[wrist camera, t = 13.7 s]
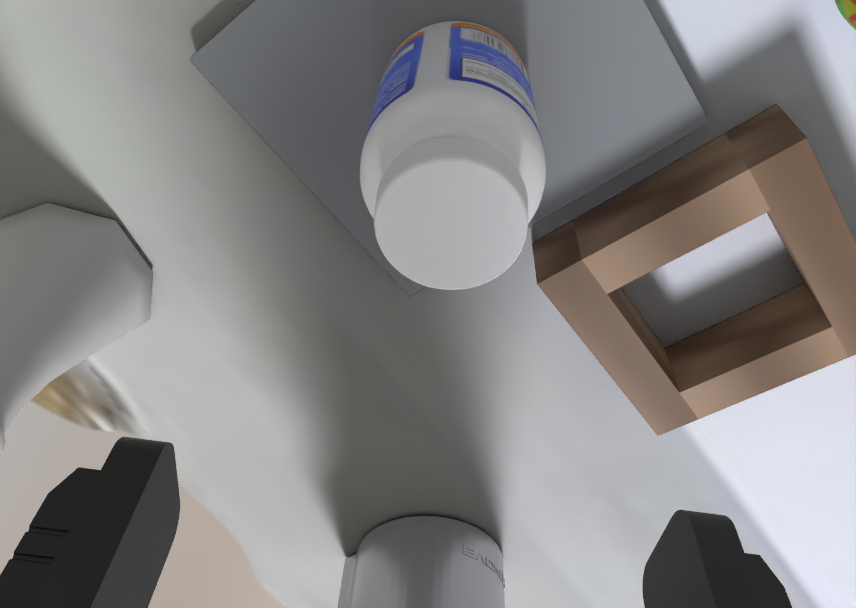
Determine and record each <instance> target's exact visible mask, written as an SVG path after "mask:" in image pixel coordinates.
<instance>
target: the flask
mask: <svg viewBox="0 0 856 608" xmlns="http://www.w3.org/2000/svg"><path fill="white" fill-rule="evenodd" d="M152 281H153V272H152V270H151V269H150V267H149V266H148V265H147V263H146V262H145V261H144V259H143V258H142V256H141V255H140V254H139V252H138V251H137V249H136V248H135V247H134V245H133V244H132V243H131V241H130V240H129V238H128V237H127V236H126V234H125V233H124V232H123V230H122V229H121V227H120V226H119V225H118V223H117V222H116V221H115V220H111V219H108V218H104V217H100V216H96V215H92V214H88V213H85V212H81V211H77V210H73V209H69V208H66V207H62V206H58V205H54V204H50V203H45V204H42V205H40V206H37V207H34V208H31V209H28V210H26V211H23V212H20V213H17V214H14V215H12V216H9V217H6V218H3V219H1V220H0V453H1V452H2V451H3V450H4V446H5V435H4V433H5V430H6V429H7V427H8V426H9V424H10V423H11V422H12V421H13V419H14V418H15V416H16V415H17V414H18V412H19V411H20V409H21V408H22V407H24V406H25V404H27V403H28V402H29V401H30V400H31V399H32V398H33V397H34V396H35V395H36V394H38V393H39V392H40V391H41V390H42V389H43V388H44V387H45V386H46V385H47V384H48V383H49V382H50V381H52V380H53V379H55V378H56V377H58V376H59V375H61V374H63V373H64V372H66V371H67V370H69V369H70V368H72V367H73V366H75V365H76V364H78V363H80V362H81V361H83V360H84V359H86V358H87V357H89V356H90V355H92V354H93V353H95V352H96V351H98V350H100V349H101V348H103V347H105V346H107V345H108V344H110V343H112V342H113V341H115V340H117V339H118V338H120V337H122V336H124V335H125V334H127V333H129V332H130V331H132V330H134V329H136V328H137V327H139V326H140V325H142V324H143V323H145V322H147V321H148V320H150V312H151V296H152Z"/></svg>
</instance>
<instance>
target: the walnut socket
mask: <svg viewBox="0 0 856 608" xmlns="http://www.w3.org/2000/svg"><path fill="white" fill-rule="evenodd" d="M766 212H767V214H768V216H769V218H770V219H771V221H772V223H773V225H774V227H775V229H776V231H777V232H778V234H779V236H780V238H781V240H782V242H783V244H784V246H785V247H786V249H787V251H788V253H789V255H790V257H791V259H792V261H793V262H794V264H795V266H796V268H797V270H798V272H799V274H800V276H801V277H802V279H803V281H804V283H805V284H803V285H801V286H798V287H796V288H794V289H792V290H790V291H788V292H785V293H783V294H781V295H779V296H777V297H775V298H773V299H770V300H768V301H766V302H764V303H762V304H760V305H757V306H755V307H753V308H751V309H749V310H747V311H744V312H742V313H740V314H738V315H736V316H734V317H731V318H729V319H727V320H725V321H723V322H721V323H718V324H716V325H714V326H712V327H710V328H708V329H705V330H703V331H701V332H699V333H697V334H695V335H693V336H690V337H688V338H686V339H684V340H682V341H680V342H677V343H675V344H673V345H671V346H669V347H667V348H664V347H663V345H662V344H661V342H660V341H659V340H658V338H657V337H656V335H655V334H654V333H653V331H652V330H651V328H650V327H649V326H648V324H647V323H646V321H645V320H644V319H643V317H642V316H641V314H640V313H639V312H638V310H637V309H636V307H635V306H634V305H633V303H632V302H631V300H630V299H629V298H628V296H627V295H626V293H625V292H624V291H623V289H622V288H621V287H622V286H624V285H626V284H628V283H630V282H632V281H634V280H635V279H637V278H639V277H641V276H643V275H645V274H647V273H649V272H651V271H653V270H655V269H657V268H659V267H661V266H663V265H665V264H667V263H669V262H671V261H673V260H675V259H676V258H678V257H680V256H682V255H684V254H686V253H688V252H690V251H692V250H694V249H696V248H698V247H700V246H702V245H704V244H706V243H708V242H710V241H712V240H714V239H715V238H717V237H719V236H721V235H723V234H725V233H727V232H729V231H731V230H733V229H735V228H737V227H739V226H741V225H743V224H745V223H747V222H749V221H751V220H753V219H755V218H756V217H758V216H760V215H762V214H764V213H766ZM532 246H533V254H534V262H535V270H536V278H537V284H538V286H539V287H540V288H541V289H542V291H543V292H544V293H545V294H546V296H547V297H548V298H549V299H550V301H551V302H552V303H553V304H554V306H555V307H556V308H557V309H558V311H559V312H560V313H561V315H562V316H563V317H564V318H565V320H566V321H567V322H568V323H569V325H570V326H571V327H572V328H573V330H574V331H575V332H576V333H577V335H578V336H579V337H580V338H581V340H582V341H583V342H584V343H585V345H586V346H587V347H588V349H589V350H590V351H591V352H592V354H593V355H594V356H595V357H596V359H597V360H598V361H599V362H600V364H601V365H602V366H603V367H604V369H605V370H606V371H607V372H608V374H609V375H610V376H611V377H612V379H613V380H614V381H615V383H616V384H617V385H618V386H619V388H620V389H621V390H622V391H623V393H624V394H625V395H626V396H627V398H628V399H629V400H630V401H631V403H632V404H633V405H634V406H635V408H636V409H637V410H638V411H639V413H640V414H641V415H642V417H643V418H644V419H645V420H646V422H647V423H648V424H649V425H650V427H651V428H652V429H653V430H654V432H655V433H656V434H657V435H658V436H659V435H661V434H664V433H666V432H669V431H671V430H673V429H676V428H678V427H681V426H683V425H686V424H688V423H690V422H693V421H695V420H698V419H700V418H703V417H705V416H707V415H710V414H712V413H715V412H717V411H720V410H722V409H724V408H727V407H729V406H732V405H734V404H737V403H739V402H741V401H744V400H746V399H749V398H751V397H754V396H756V395H758V394H761V393H763V392H766V391H768V390H771V389H773V388H775V387H778V386H780V385H783V384H785V383H788V382H790V381H792V380H795V379H797V378H800V377H802V376H804V375H807V374H809V373H812V372H814V371H817V370H819V369H821V368H824V367H826V366H829V365H831V364H834V363H836V362H838V361H841V360H843V359H846V358H848V357H851V356H853V355H855V354H856V242H855V240H854V238H853V236H852V234H851V232H850V229H849V227H848V225H847V223H846V221H845V219H844V217H843V214H842V212H841V210H840V208H839V206H838V204H837V202H836V199H835V197H834V195H833V193H832V191H831V189H830V187H829V184H828V182H827V180H826V178H825V176H824V174H823V172H822V169H821V167H820V165H819V163H818V161H817V159H816V157H815V154H814V152H813V150H812V148H811V146H810V144H809V142H808V139H807V138H806V136H805V135H804V134H803V133H802V132H801V131H800V130H799V129H798V127H797V126H796V125H795V124H794V123H793V122H792V121H791V120H790V119H789V117H788V116H787V115H786V114H785V113H784V112H783V111H782V110H781V108H780V107H779V106H778V105H777V104H776V105H774V106H772V107H770V108H769V109H767V110H765V111H763V112H762V113H760V114H758V115H756V116H755V117H753V118H751V119H749V120H748V121H746V122H744V123H742V124H741V125H739V126H737V127H735V128H734V129H732V130H730V131H728V132H727V133H725V134H723V135H721V136H720V137H718V138H716V139H714V140H713V141H711V142H709V143H707V144H706V145H704V146H702V147H700V148H699V149H697V150H695V151H693V152H692V153H690V154H688V155H686V156H685V157H683V158H681V159H679V160H678V161H676V162H674V163H672V164H671V165H669V166H667V167H665V168H663V169H662V170H660V171H658V172H656V173H655V174H653V175H651V176H649V177H648V178H646V179H644V180H642V181H641V182H639V183H637V184H635V185H634V186H632V187H630V188H628V189H627V190H625V191H623V192H621V193H620V194H618V195H616V196H614V197H613V198H611V199H609V200H607V201H606V202H604V203H602V204H600V205H599V206H597V207H595V208H593V209H592V210H590V211H588V212H586V213H585V214H583V215H581V216H579V217H578V218H576V219H574V220H572V221H571V222H569V223H567V224H565V225H564V226H562V227H560V228H558V229H557V230H555V231H553V232H551V233H550V234H548V235H546V236H544V237H542V238H541V239H539V240H537V241H535V242H534V243H532Z"/></svg>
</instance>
